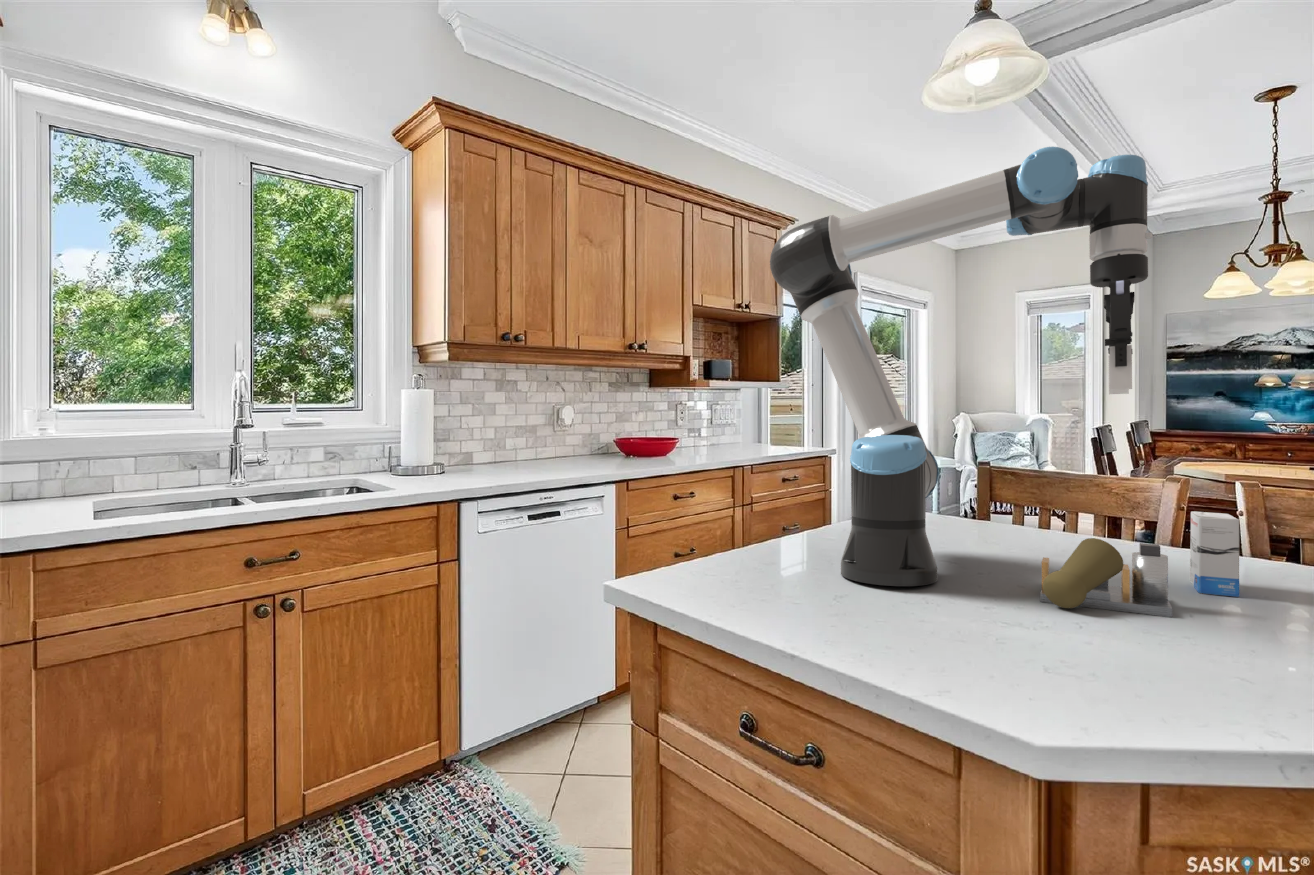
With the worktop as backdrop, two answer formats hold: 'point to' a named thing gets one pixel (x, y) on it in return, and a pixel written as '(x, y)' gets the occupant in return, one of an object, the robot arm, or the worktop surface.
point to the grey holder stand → (1145, 590)
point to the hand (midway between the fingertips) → (1119, 392)
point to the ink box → (1214, 553)
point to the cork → (1082, 573)
